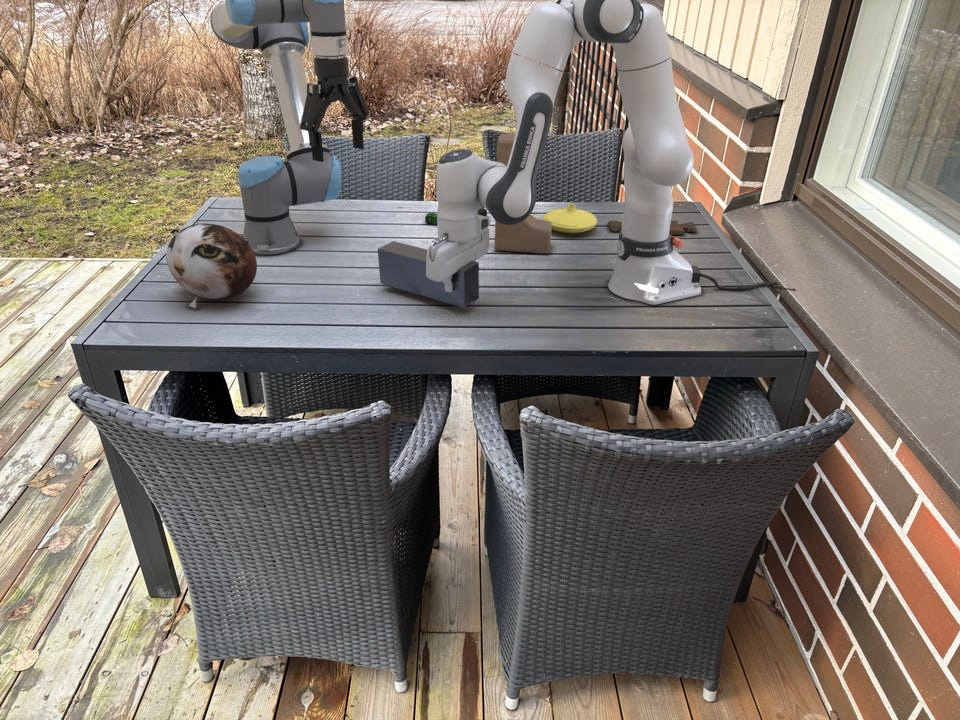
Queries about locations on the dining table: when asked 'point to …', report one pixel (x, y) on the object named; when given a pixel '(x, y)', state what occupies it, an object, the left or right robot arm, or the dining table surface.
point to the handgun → (433, 216)
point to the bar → (409, 273)
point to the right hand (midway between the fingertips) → (459, 285)
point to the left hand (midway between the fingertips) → (339, 154)
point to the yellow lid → (571, 220)
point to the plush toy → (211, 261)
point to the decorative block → (530, 231)
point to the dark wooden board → (674, 229)
